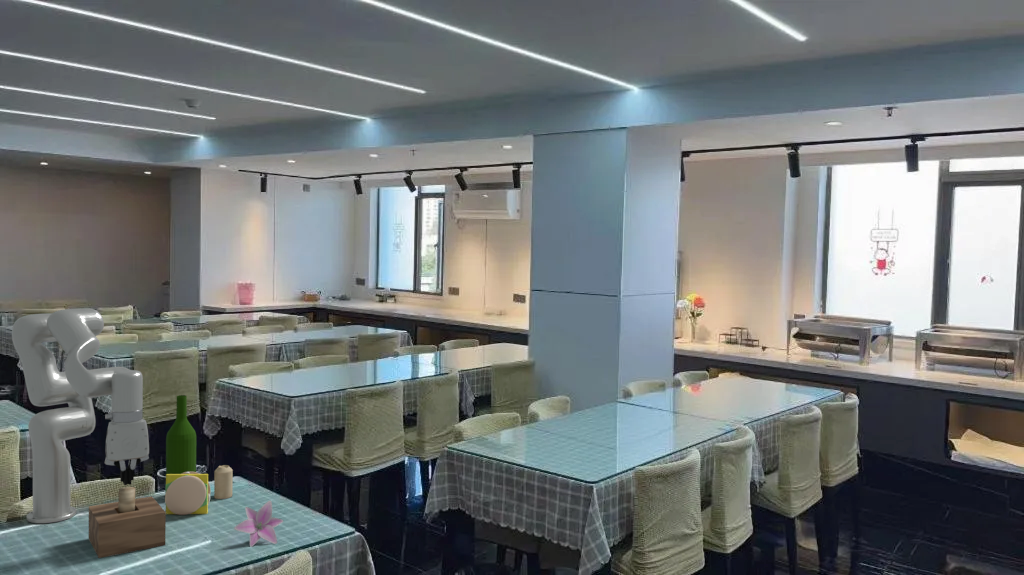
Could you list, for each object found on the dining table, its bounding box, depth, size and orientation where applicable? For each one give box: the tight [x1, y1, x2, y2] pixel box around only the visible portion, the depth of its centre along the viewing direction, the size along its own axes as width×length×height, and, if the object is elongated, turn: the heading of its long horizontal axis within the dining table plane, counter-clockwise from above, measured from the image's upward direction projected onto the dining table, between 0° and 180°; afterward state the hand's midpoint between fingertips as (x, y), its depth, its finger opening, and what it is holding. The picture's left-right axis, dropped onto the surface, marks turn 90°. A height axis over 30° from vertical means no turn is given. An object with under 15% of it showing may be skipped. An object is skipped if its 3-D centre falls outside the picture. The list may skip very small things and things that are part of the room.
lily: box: [233, 500, 284, 548], centre depth 211 cm, size 12×12×10 cm
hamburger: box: [164, 471, 212, 516], centre depth 232 cm, size 12×8×12 cm
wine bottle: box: [165, 394, 197, 475], centre depth 246 cm, size 9×9×32 cm
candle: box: [213, 464, 234, 500], centre depth 247 cm, size 6×6×10 cm
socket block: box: [88, 496, 167, 559], centre depth 207 cm, size 16×16×9 cm
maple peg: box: [118, 486, 136, 514], centre depth 207 cm, size 4×4×7 cm
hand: (127, 483), depth 206 cm, fingers closed
